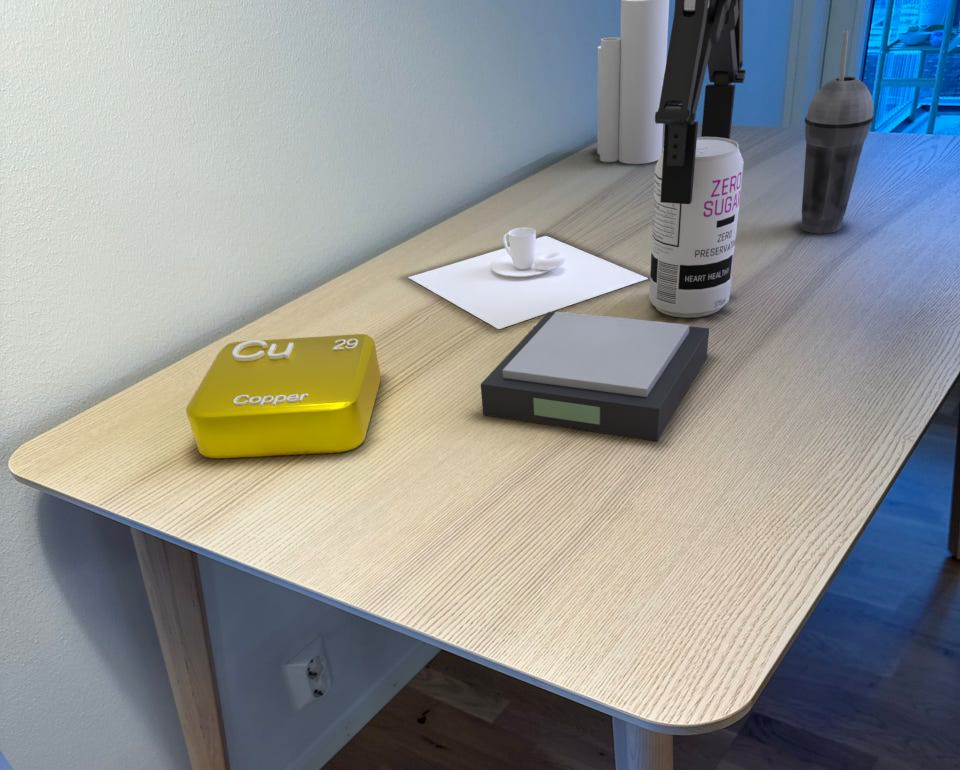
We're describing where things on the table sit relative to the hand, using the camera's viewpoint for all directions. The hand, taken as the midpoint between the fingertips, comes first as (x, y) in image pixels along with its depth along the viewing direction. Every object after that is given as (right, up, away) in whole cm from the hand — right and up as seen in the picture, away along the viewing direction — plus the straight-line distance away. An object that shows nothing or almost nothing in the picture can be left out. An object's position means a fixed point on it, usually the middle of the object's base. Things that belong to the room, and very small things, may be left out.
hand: (695, 180), depth 87 cm
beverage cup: (+20, +5, +22) cm, 30 cm away
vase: (+1, +29, +51) cm, 58 cm away
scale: (-10, -21, -4) cm, 24 cm away
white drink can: (+1, -9, +8) cm, 12 cm away
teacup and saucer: (-16, -3, +17) cm, 23 cm away
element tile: (-38, -24, -3) cm, 45 cm away
